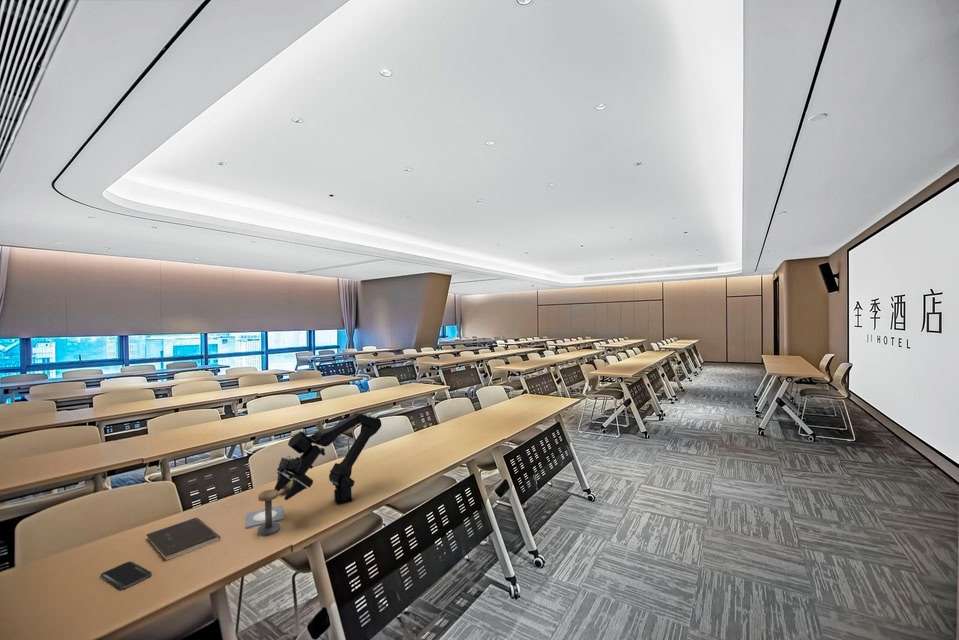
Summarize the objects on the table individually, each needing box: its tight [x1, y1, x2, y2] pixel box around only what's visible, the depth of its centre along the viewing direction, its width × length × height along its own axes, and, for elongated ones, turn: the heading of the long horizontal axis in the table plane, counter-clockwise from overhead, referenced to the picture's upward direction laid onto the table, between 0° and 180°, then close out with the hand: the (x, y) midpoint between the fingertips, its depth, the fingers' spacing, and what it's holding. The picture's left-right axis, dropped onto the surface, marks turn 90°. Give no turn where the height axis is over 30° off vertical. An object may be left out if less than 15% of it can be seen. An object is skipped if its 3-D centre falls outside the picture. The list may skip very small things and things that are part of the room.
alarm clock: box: [276, 455, 297, 496], centre depth 183 cm, size 11×5×16 cm, turn 168°
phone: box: [99, 560, 153, 591], centre depth 122 cm, size 8×1×15 cm
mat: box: [245, 505, 285, 529], centre depth 158 cm, size 13×13×1 cm
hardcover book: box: [146, 517, 221, 561], centre depth 143 cm, size 16×23×2 cm
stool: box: [257, 489, 281, 537], centre depth 147 cm, size 7×7×14 cm
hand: (279, 496), depth 151 cm, fingers open, 9 cm apart
